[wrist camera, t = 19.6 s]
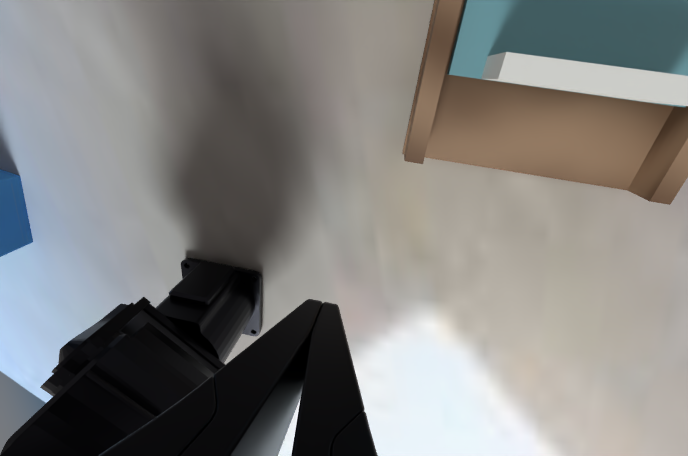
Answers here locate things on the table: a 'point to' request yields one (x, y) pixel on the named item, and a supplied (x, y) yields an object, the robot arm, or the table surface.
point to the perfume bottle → (13, 214)
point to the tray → (578, 46)
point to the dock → (542, 126)
